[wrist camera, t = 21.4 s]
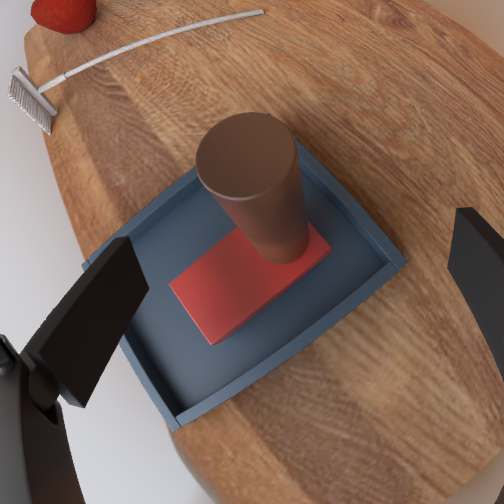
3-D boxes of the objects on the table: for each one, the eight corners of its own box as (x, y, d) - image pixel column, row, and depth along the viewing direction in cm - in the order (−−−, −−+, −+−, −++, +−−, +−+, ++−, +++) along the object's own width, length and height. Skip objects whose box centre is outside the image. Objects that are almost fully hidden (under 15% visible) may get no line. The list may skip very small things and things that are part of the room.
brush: (272, 57, 31) (276, -6, 22) (49, 136, 30) (6, 94, 20) (261, 38, 32) (262, -22, 22) (49, 113, 30) (11, 71, 21)
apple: (62, 30, 38) (28, -8, 27) (112, -2, 37) (81, -46, 25) (55, 59, 35) (13, 15, 24) (112, 22, 34) (74, -31, 22)
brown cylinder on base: (285, 207, 21) (244, 83, 9) (330, 258, 19) (342, 165, 8) (186, 289, 21) (58, 246, 10) (225, 343, 19) (111, 357, 8)
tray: (273, 130, 23) (268, 113, 21) (399, 269, 19) (408, 261, 17) (98, 270, 23) (80, 264, 21) (186, 423, 19) (172, 432, 17)
